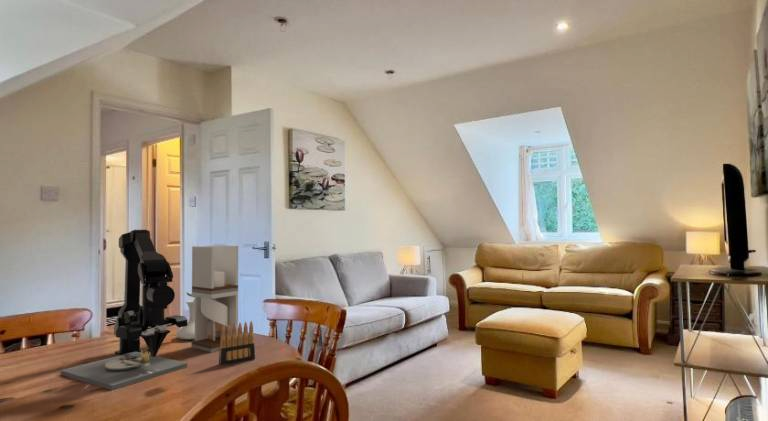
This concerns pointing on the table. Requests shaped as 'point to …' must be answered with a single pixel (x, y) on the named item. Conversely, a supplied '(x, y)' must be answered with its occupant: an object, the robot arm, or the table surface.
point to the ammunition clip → (236, 345)
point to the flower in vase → (189, 322)
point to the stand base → (121, 372)
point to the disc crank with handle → (128, 361)
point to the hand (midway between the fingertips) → (153, 356)
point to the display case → (214, 293)
